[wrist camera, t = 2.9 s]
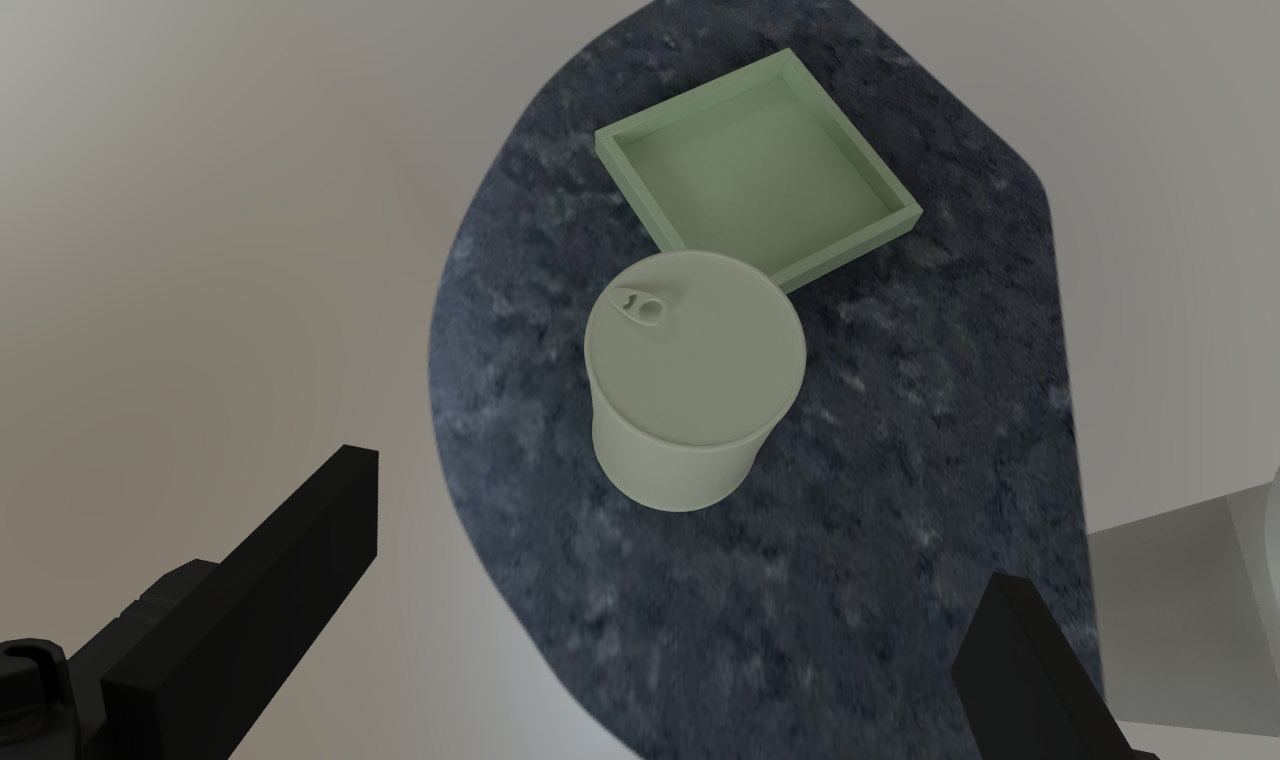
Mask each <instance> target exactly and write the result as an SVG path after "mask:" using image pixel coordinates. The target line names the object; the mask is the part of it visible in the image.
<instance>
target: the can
mask: <svg viewBox="0 0 1280 760" xmlns="http://www.w3.org/2000/svg"><path fill="white" fill-rule="evenodd" d="M584 353H585V362H586V367H587V372H588V375H589V378H590V385H591V392H592V402H593V412H594V415H593V421H592V438H593V444H594V449H595V452H596V456H597V458H598V461H599V463H600V465H601V467H602V469H603V470H604V472H605V474H606V475H607V476H608V478H609V479H610V480H611V482H612V483H613V484H614V485H615V486H616V487H617V488H618V489H619V490H620V491H622V492H623V493H624V494H625V495H627V496H628V497H630V498H631V499H633V500H635V501H636V502H638V503H640V504H643V505H645V506H648V507H650V508H654V509H657V510H662V511H670V512H686V511H693V510H698V509H701V508H705V507H707V506H710V505H713V504H715V503H717V502H719V501H720V500H722V499H724V498H725V497H727V496H728V495H729V494H730V493H732V492H733V491H734V490H735V489H736V488H737V487H738V486H739V485H740V484H741V483H742V481H743V480H744V479H745V477H746V476H747V474H748V473H749V471H750V469H751V467H752V465H753V462H754V460H755V457H756V454H757V452H758V451H759V449H760V447H761V446H762V444H763V443H764V441H765V440H766V438H767V437H768V435H769V434H770V432H771V431H772V429H773V428H774V426H775V425H776V424H777V423H778V422H779V421H780V420H781V418H782V417H783V416H784V415H785V414H786V413H787V411H788V410H789V408H790V407H791V405H792V403H793V402H794V400H795V398H796V397H797V395H798V392H799V390H800V387H801V384H802V381H803V378H804V373H805V367H806V343H805V336H804V332H803V328H802V325H801V322H800V320H799V317H798V315H797V313H796V311H795V309H794V307H793V305H792V303H791V302H790V300H789V299H788V297H787V296H786V295H785V294H784V292H783V291H782V290H781V289H780V287H779V286H778V285H777V284H776V283H775V282H774V281H773V280H771V279H770V278H769V277H768V276H767V275H765V274H764V273H763V272H762V271H760V270H759V269H757V268H756V267H754V266H752V265H750V264H748V263H747V262H745V261H743V260H741V259H738V258H736V257H733V256H730V255H727V254H724V253H720V252H715V251H710V250H702V249H680V250H672V251H667V252H663V253H659V254H656V255H653V256H650V257H647V258H645V259H642V260H640V261H639V262H637V263H635V264H633V265H631V266H630V267H628V268H627V269H625V270H624V271H623V272H621V273H620V274H619V275H618V276H617V277H615V278H614V279H613V280H612V281H611V282H610V284H609V285H608V286H607V287H606V288H605V289H604V291H603V292H602V293H601V295H600V296H599V298H598V300H597V301H596V303H595V305H594V307H593V309H592V311H591V314H590V317H589V320H588V323H587V328H586V333H585V345H584Z"/></svg>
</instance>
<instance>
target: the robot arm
mask: <svg viewBox="0 0 1280 760" xmlns="http://www.w3.org/2000/svg"><path fill="white" fill-rule="evenodd" d="M378 458H379V451H376V450H370V449H366V448H361V447H355V446H350V445H345V444H344V445H343V446H342V447H341V448H340V449H339V450H338V451H337V452H336V453H334V454H333V455H332V456H331V457H330V458H329V459H328V460H327V461H326V462H325V463H324V464H323V465H322V466H321V467H320V468H319V469H318V470H317V471H316V472H315V473H314V474H313V475H312V476H311V477H309V478H308V480H307V481H305V482H304V483H303V484H302V485H301V486H300V487H299V488H298V489H297V490H296V491H295V492H294V493H293V494H292V495H291V496H290V497H289V498H288V499H287V500H286V501H285V502H283V503H282V505H280V506H279V507H278V508H277V509H276V510H275V511H274V512H273V513H272V514H271V515H270V516H269V517H268V518H267V519H266V520H265V521H264V522H263V523H262V524H261V525H260V526H259V527H257V529H255V530H254V531H253V532H252V533H251V534H250V535H249V536H248V537H247V538H246V539H245V540H244V541H243V542H242V543H241V544H240V545H239V546H238V547H237V548H236V549H235V550H233V551H232V552H231V553H230V554H229V555H228V556H227V557H226V558H225V559H224V560H223V561H222V562H221V563H220V564H219V563H214V562H209V561H204V560H199V559H194V560H192V561H190V562H189V563H186V564H184V565H182V566H180V567H179V568H177V569H175V570H172V571H170V572H168V573H167V574H164V575H163V576H162V577H161V578H160V579H159V580H158V581H156V582H155V583H154V584H153V585H152V586H151V587H150V588H148V589H147V590H146V591H145V592H144V593H143V594H142V595H140V599H139V600H135V601H134V602H133V603H132V604H130V605H129V606H128V607H127V608H126V609H125V610H124V611H122V612H121V615H120V617H119V618H115V619H113V620H112V621H111V622H110V623H109V624H108V625H107V626H106V627H104V628H103V629H102V630H101V631H100V632H99V633H98V634H96V635H95V636H94V637H93V638H92V639H91V640H90V641H89V642H88V643H86V644H85V645H84V646H83V647H82V648H81V649H80V650H78V651H77V652H76V653H75V654H74V655H73V656H72V657H70V658H69V659H68V660H66V657H65V655H64V652H63V649H62V647H60V646H58V645H57V644H55V643H53V642H51V641H50V640H43V639H34V638H25V639H18V640H11V641H5V642H2V643H0V760H228V758H229V757H230V756H231V754H232V753H233V752H234V750H235V749H236V747H237V746H238V745H239V743H240V742H241V741H242V739H243V738H244V736H245V735H246V734H247V732H248V731H249V730H250V728H251V727H252V726H253V724H254V723H255V721H256V720H257V719H258V717H259V716H260V715H261V713H262V712H263V710H264V709H265V708H266V707H267V705H268V704H269V702H270V701H271V699H272V698H273V697H274V695H275V694H276V693H277V691H278V690H279V689H280V687H281V686H282V684H283V683H284V682H285V681H286V679H287V678H288V676H289V675H290V674H291V672H292V671H293V670H294V668H295V667H296V665H297V664H298V663H299V661H300V660H301V659H302V657H303V656H304V654H305V653H306V652H307V650H308V649H309V648H310V646H311V645H312V644H313V642H314V641H315V640H316V638H317V637H318V635H319V634H320V633H321V631H322V630H323V628H324V627H325V626H326V625H327V623H328V622H329V620H330V619H331V618H332V616H333V615H334V614H335V612H336V611H337V609H338V608H339V607H340V605H341V604H342V603H343V601H344V600H345V599H346V597H347V596H348V594H349V593H350V591H351V590H352V589H353V587H354V586H355V585H356V583H357V582H358V581H359V579H360V578H361V577H362V575H363V574H364V573H365V571H366V570H367V568H368V567H369V565H370V564H371V563H372V562H373V560H374V559H375V557H376V556H377V529H378V522H377V521H378ZM950 673H951V676H952V678H953V681H954V684H955V686H956V689H957V692H958V694H959V697H960V700H961V703H962V705H963V708H964V711H965V713H966V716H967V719H968V721H969V724H970V727H971V730H972V732H973V735H974V738H975V740H976V743H977V746H978V748H979V751H980V754H981V757H982V759H983V760H1160V759H1159V758H1158V757H1157V756H1156V755H1155V754H1154V753H1149V752H1144V751H1139V750H1134V749H1132V748H1131V747H1130V745H1129V744H1128V742H1127V740H1126V738H1125V737H1124V735H1123V733H1122V732H1121V730H1120V728H1119V727H1118V725H1117V723H1116V722H1115V720H1114V718H1113V717H1112V715H1111V713H1110V712H1109V710H1108V708H1107V707H1106V705H1105V703H1104V702H1103V700H1102V698H1101V697H1100V695H1099V693H1098V691H1097V690H1096V688H1095V686H1094V685H1093V683H1092V681H1091V680H1090V678H1089V676H1088V675H1087V673H1086V671H1085V670H1084V668H1083V666H1082V665H1081V663H1080V661H1079V660H1078V658H1077V656H1076V655H1075V653H1074V651H1073V650H1072V648H1071V646H1070V645H1069V643H1068V641H1067V640H1066V638H1065V636H1064V635H1063V633H1062V631H1061V630H1060V628H1059V626H1058V625H1057V623H1056V621H1055V620H1054V618H1053V616H1052V615H1051V613H1050V611H1049V609H1048V608H1047V606H1046V604H1045V603H1044V601H1043V599H1042V598H1041V596H1040V594H1039V593H1038V591H1037V589H1036V588H1035V586H1034V584H1033V583H1032V581H1031V579H1026V578H1021V577H1016V576H1011V575H1006V574H1001V573H996V572H993V574H992V576H991V578H990V581H989V583H988V585H987V587H986V590H985V592H984V594H983V597H982V599H981V601H980V604H979V606H978V608H977V611H976V613H975V615H974V617H973V620H972V622H971V624H970V627H969V629H968V631H967V634H966V636H965V638H964V641H963V643H962V645H961V647H960V650H959V652H958V654H957V657H956V659H955V661H954V664H953V666H952V668H951V671H950Z"/></svg>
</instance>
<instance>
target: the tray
mask: <svg viewBox="0 0 1280 760" xmlns="http://www.w3.org/2000/svg"><path fill="white" fill-rule="evenodd" d="M595 144H596V154H597V156H598V157H599V159H600V160H601V162H602V163H603V165H604V166H605V168H606V169H607V171H608V172H609V174H610V175H611V177H612V178H613V180H614V181H615V183H616V184H617V186H618V187H619V189H620V190H621V192H622V193H623V195H624V196H625V198H626V199H627V201H628V202H629V204H630V205H631V207H632V208H633V210H634V211H635V213H636V214H637V216H638V217H639V219H640V220H641V222H642V223H643V225H644V227H645V228H646V230H647V231H648V233H649V234H650V236H651V237H652V239H653V240H654V242H655V243H656V245H657V246H658V248H659V249H660V251H661V252H662V253H663V252H667V251H672V250H680V249H702V250H710V251H715V252H720V253H724V254H727V255H730V256H733V257H736V258H738V259H741V260H743V261H745V262H747V263H748V264H750V265H752V266H754V267H756V268H757V269H759V270H760V271H762V272H763V273H764V274H765V275H767V276H768V277H769V278H770V279H771V280H773V281H774V282H775V283H776V284H777V285H778V286H779V287H780V289H781V290H782V291H783V292H784V294H785V295H786V294H788V293H790V292H792V291H794V290H796V289H798V288H800V287H802V286H803V285H805V284H807V283H809V282H811V281H813V280H815V279H817V278H819V277H821V276H823V275H825V274H827V273H829V272H831V271H833V270H835V269H836V268H838V267H840V266H842V265H844V264H846V263H848V262H850V261H852V260H854V259H856V258H858V257H860V256H862V255H864V254H866V253H867V252H869V251H871V250H873V249H875V248H877V247H879V246H881V245H883V244H885V243H887V242H889V241H891V240H893V239H895V238H897V237H899V236H900V235H902V234H904V233H906V232H908V231H910V230H911V229H912V228H913V226H914V225H915V223H916V222H917V220H918V219H919V217H920V216H921V214H922V213H923V209H922V208H921V207H920V206H919V204H918V203H917V202H916V200H915V199H914V198H913V197H912V195H911V194H910V193H909V192H908V191H907V189H906V188H905V187H904V186H903V185H902V183H901V182H900V181H899V180H898V179H897V177H896V176H895V175H894V174H893V172H892V171H891V170H890V169H889V168H888V166H887V165H886V164H885V163H884V162H883V160H882V159H881V158H880V157H879V156H878V154H877V153H876V152H875V151H874V149H873V148H872V147H871V146H870V145H869V143H868V142H867V141H866V140H865V139H864V137H863V136H862V135H861V134H860V133H859V131H858V130H857V129H856V128H855V127H854V125H853V124H852V123H851V122H850V120H849V119H848V118H847V117H846V116H845V114H844V113H843V112H842V111H841V110H840V108H839V107H838V106H837V105H836V104H835V102H834V101H833V100H832V99H831V97H830V96H829V95H828V94H827V93H826V91H825V90H824V89H823V88H822V87H821V85H820V84H819V83H818V82H817V81H816V79H815V78H814V77H813V76H812V74H811V73H810V72H809V71H808V70H807V68H806V67H805V66H804V65H803V64H802V62H801V61H800V60H799V59H798V58H797V56H795V54H794V53H793V52H792V51H791V49H790V48H786V49H784V50H782V51H780V52H777V53H775V54H773V55H770V56H768V57H766V58H763V59H761V60H759V61H756V62H754V63H752V64H749V65H747V66H745V67H743V68H740V69H738V70H736V71H733V72H731V73H729V74H726V75H724V76H722V77H719V78H717V79H715V80H712V81H710V82H708V83H706V84H703V85H701V86H699V87H696V88H694V89H692V90H689V91H687V92H685V93H682V94H680V95H678V96H675V97H673V98H671V99H669V100H666V101H664V102H662V103H659V104H657V105H655V106H652V107H650V108H648V109H645V110H643V111H641V112H638V113H636V114H634V115H632V116H629V117H627V118H625V119H622V120H620V121H618V122H615V123H613V124H611V125H608V126H606V127H604V128H601V129H599V130H597V131H595Z"/></svg>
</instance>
